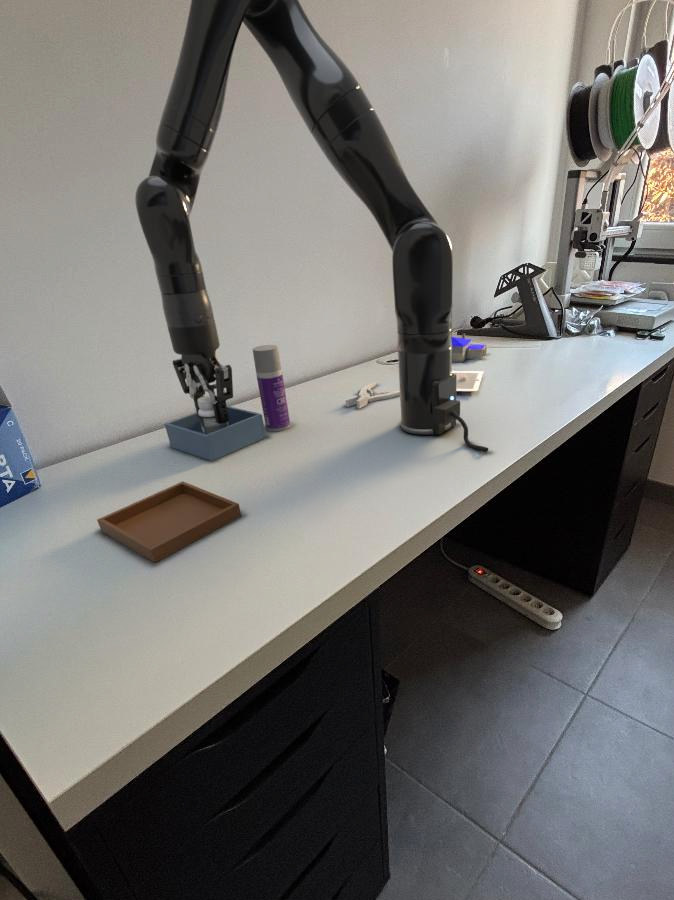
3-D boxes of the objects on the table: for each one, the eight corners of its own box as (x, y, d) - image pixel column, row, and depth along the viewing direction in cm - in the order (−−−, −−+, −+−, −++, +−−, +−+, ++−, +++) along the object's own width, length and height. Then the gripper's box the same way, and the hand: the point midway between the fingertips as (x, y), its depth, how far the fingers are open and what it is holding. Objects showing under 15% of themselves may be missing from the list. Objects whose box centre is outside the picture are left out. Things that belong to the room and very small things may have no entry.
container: (285, 431, 100) (272, 350, 92) (262, 431, 101) (247, 351, 93) (293, 422, 104) (282, 344, 96) (271, 422, 105) (258, 344, 97)
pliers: (409, 382, 117) (371, 403, 106) (409, 389, 118) (372, 410, 107) (372, 378, 122) (332, 397, 111) (373, 385, 123) (333, 404, 112)
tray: (241, 515, 73) (238, 503, 72) (155, 562, 64) (150, 549, 63) (185, 492, 80) (182, 481, 79) (101, 531, 71) (96, 519, 70)
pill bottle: (208, 438, 99) (198, 394, 95) (233, 436, 99) (224, 392, 95) (203, 448, 95) (191, 403, 91) (229, 446, 95) (219, 401, 91)
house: (476, 365, 132) (477, 342, 129) (422, 363, 137) (421, 341, 134) (486, 354, 141) (487, 332, 138) (435, 352, 146) (434, 331, 143)
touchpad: (440, 395, 113) (440, 385, 112) (450, 375, 125) (450, 366, 124) (477, 396, 111) (477, 386, 110) (483, 376, 123) (483, 366, 122)
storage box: (266, 437, 98) (261, 414, 96) (211, 461, 90) (205, 436, 87) (225, 425, 105) (220, 403, 102) (170, 447, 96) (164, 423, 94)
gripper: (236, 319, 85) (256, 420, 93) (185, 314, 93) (207, 407, 101) (197, 328, 80) (221, 434, 88) (146, 322, 88) (172, 419, 96)
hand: (213, 419), depth 95 cm, fingers open, 5 cm apart
